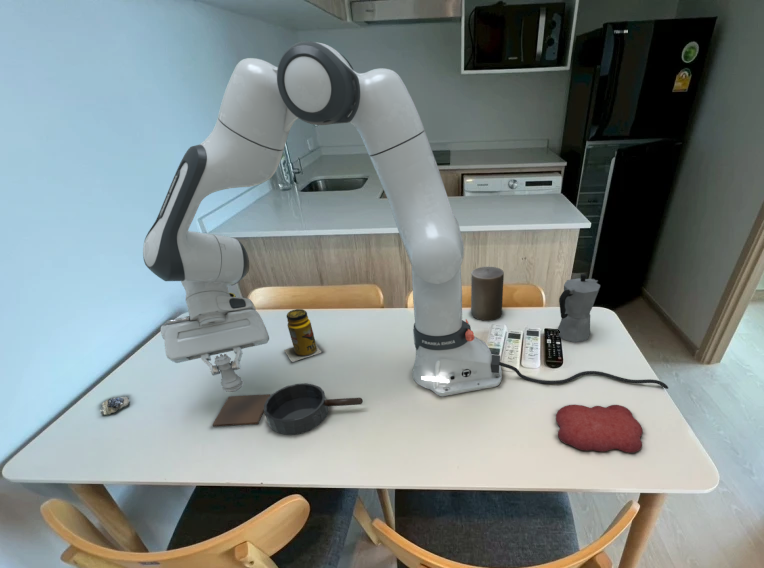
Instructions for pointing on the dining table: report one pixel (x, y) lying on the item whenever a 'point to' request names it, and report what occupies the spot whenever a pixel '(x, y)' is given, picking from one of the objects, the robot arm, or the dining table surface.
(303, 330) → the condiment
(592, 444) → the patty
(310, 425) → the pan
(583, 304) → the coffeepot
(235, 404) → the plate
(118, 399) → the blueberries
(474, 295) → the pillar candle
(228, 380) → the rook chess piece
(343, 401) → the pan handle
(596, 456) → the dining table surface
